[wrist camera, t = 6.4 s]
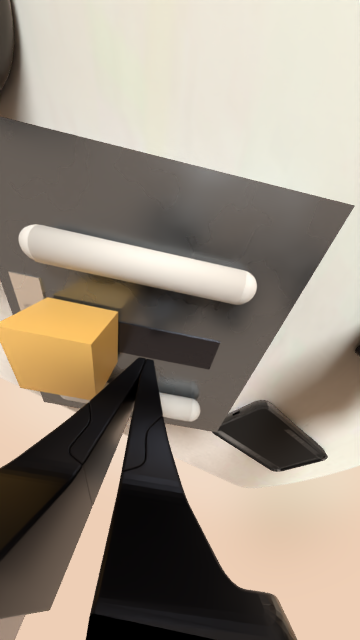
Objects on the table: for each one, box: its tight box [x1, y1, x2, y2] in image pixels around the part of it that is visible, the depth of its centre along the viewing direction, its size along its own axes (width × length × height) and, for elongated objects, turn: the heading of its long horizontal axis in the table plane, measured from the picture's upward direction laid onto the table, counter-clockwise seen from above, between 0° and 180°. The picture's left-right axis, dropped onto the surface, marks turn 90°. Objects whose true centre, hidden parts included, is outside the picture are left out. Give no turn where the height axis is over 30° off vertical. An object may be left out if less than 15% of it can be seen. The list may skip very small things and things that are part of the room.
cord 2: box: [19, 224, 257, 305], centre depth 8 cm, size 11×2×2 cm, turn 79°
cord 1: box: [60, 383, 200, 422], centre depth 13 cm, size 11×2×2 cm, turn 79°
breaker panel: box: [0, 117, 354, 432], centre depth 12 cm, size 16×18×3 cm
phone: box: [212, 400, 328, 472], centre depth 21 cm, size 8×1×15 cm
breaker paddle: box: [0, 297, 118, 400], centre depth 9 cm, size 4×4×3 cm
